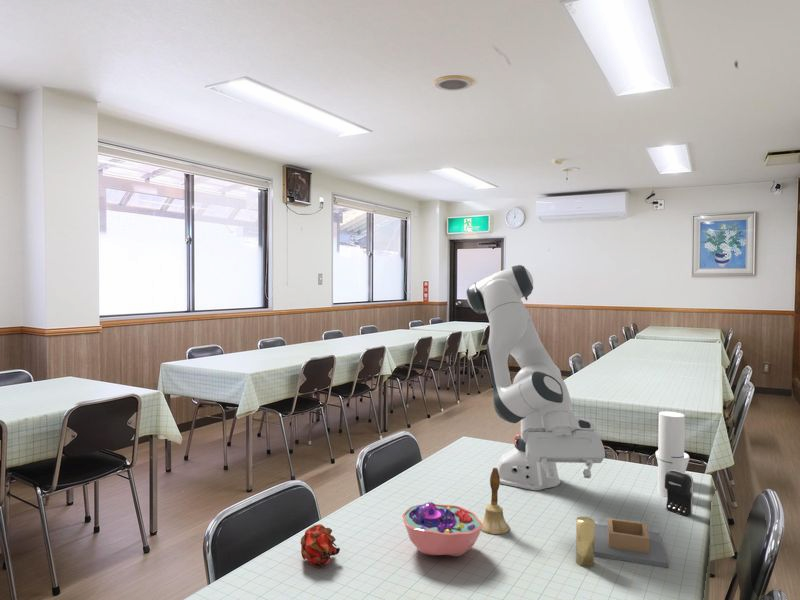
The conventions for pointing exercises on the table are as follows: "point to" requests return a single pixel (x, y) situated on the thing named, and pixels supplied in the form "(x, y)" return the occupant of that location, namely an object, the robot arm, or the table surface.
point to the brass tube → (585, 541)
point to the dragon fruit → (318, 545)
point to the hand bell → (494, 510)
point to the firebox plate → (629, 542)
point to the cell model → (441, 528)
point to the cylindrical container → (670, 446)
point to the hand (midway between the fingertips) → (569, 477)
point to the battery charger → (679, 492)
